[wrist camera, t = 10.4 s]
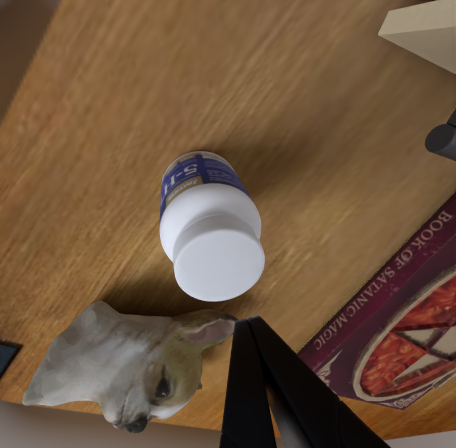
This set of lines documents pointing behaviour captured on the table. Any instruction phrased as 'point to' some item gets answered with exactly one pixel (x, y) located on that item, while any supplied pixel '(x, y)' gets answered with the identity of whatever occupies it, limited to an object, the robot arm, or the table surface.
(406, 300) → the book
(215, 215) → the pill bottle
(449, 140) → the drawer
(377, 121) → the table surface
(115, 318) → the ceramic sculpture
